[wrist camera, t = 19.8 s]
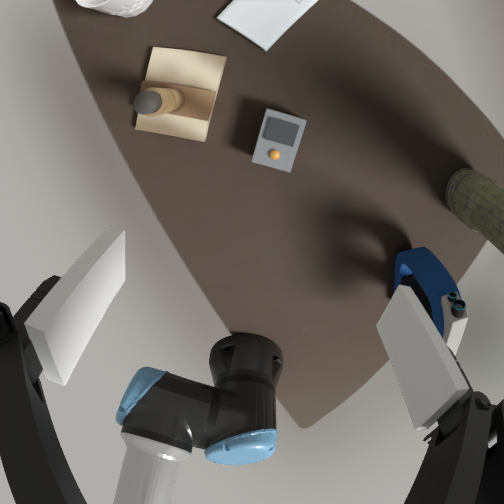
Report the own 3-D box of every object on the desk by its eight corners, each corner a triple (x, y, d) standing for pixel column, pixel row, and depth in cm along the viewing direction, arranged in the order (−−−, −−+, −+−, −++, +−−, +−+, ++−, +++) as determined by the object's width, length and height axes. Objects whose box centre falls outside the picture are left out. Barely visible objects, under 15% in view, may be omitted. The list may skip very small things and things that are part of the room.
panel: (205, 140, 38) (202, 143, 36) (138, 128, 37) (132, 130, 35) (226, 57, 32) (224, 55, 30) (156, 48, 31) (150, 46, 29)
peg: (181, 114, 34) (155, 120, 25) (159, 109, 34) (127, 116, 25) (187, 90, 32) (163, 89, 24) (164, 86, 32) (133, 85, 23)
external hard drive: (217, 20, 30) (275, -35, 24) (265, 52, 32) (323, -4, 27) (215, 17, 28) (276, -40, 23) (266, 50, 31) (325, -8, 25)
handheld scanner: (390, 310, 52) (427, 390, 35) (392, 237, 44) (451, 316, 27) (410, 304, 51) (452, 381, 34) (415, 232, 44) (480, 305, 26)
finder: (287, 165, 39) (290, 173, 36) (252, 155, 39) (251, 162, 35) (302, 118, 36) (307, 120, 32) (266, 107, 36) (266, 108, 32)
